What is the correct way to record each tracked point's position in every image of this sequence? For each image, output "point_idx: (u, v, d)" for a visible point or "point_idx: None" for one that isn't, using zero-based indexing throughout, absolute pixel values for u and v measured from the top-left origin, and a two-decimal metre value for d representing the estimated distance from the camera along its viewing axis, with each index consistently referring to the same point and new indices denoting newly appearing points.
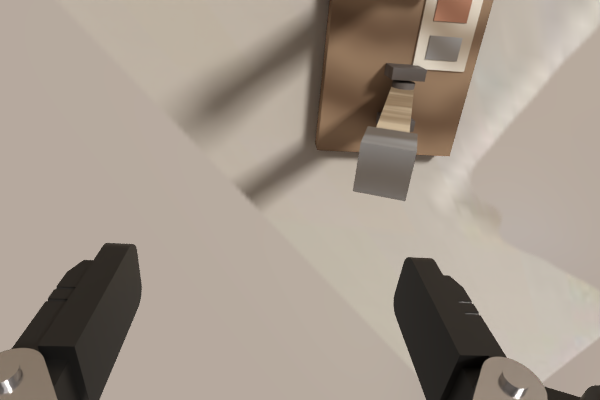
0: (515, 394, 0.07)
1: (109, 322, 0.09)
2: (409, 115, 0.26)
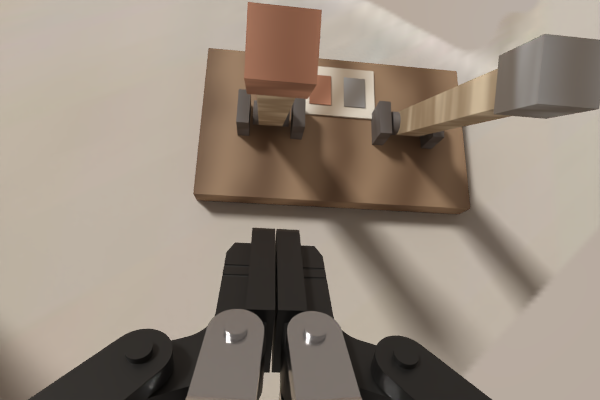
0: (310, 341, 0.08)
1: None
2: (451, 90, 0.24)
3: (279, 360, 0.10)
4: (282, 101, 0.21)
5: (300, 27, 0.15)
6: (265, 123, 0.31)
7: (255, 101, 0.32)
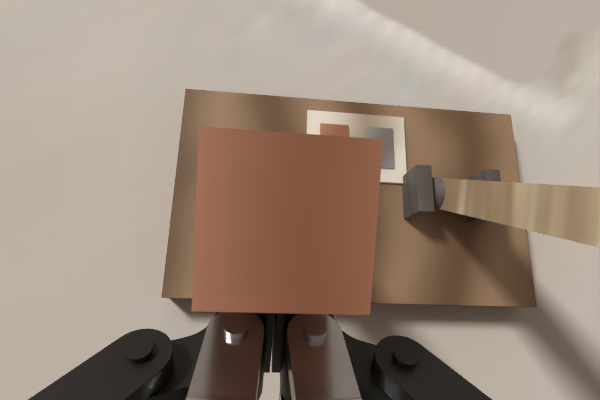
0: (310, 341, 0.08)
1: None
2: (549, 187, 0.15)
3: (279, 360, 0.10)
4: None
5: (331, 183, 0.06)
6: None
7: None
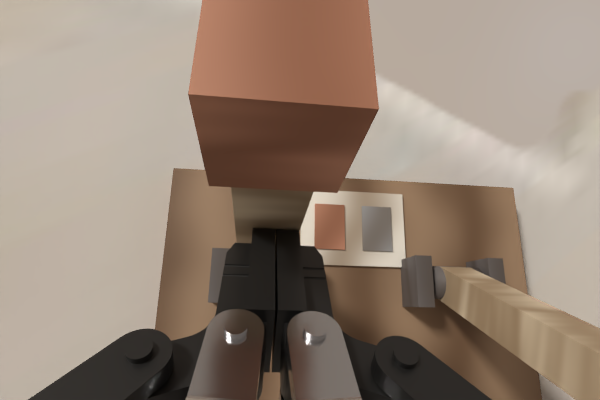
0: (310, 341, 0.08)
1: None
2: (561, 336, 0.14)
3: (279, 360, 0.10)
4: (280, 226, 0.12)
5: (325, 6, 0.07)
6: None
7: None
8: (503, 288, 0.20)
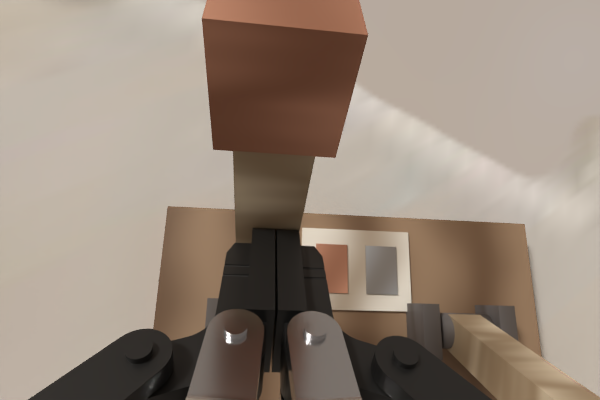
0: (310, 341, 0.08)
1: None
2: None
3: (279, 360, 0.10)
4: (280, 224, 0.12)
5: None
6: None
7: None
8: (517, 349, 0.18)
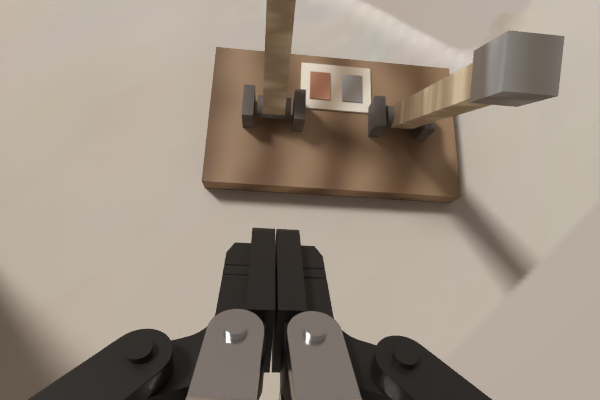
0: (310, 341, 0.08)
1: None
2: (437, 83, 0.26)
3: (279, 360, 0.10)
4: None
5: None
6: (269, 102, 0.33)
7: None
8: None
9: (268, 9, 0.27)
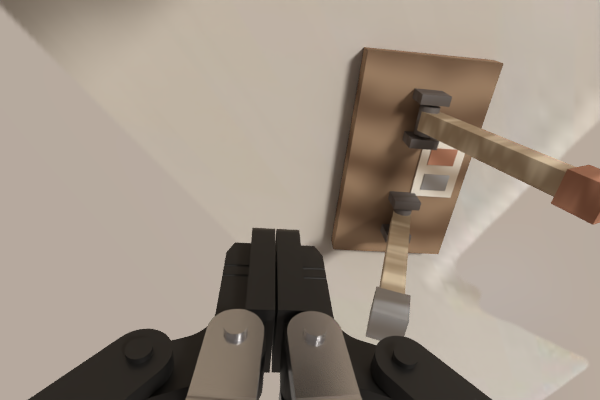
0: (310, 341, 0.08)
1: None
2: (405, 260, 0.36)
3: (279, 360, 0.10)
4: (518, 171, 0.30)
5: None
6: (429, 120, 0.38)
7: (439, 108, 0.39)
8: None
9: (498, 145, 0.32)
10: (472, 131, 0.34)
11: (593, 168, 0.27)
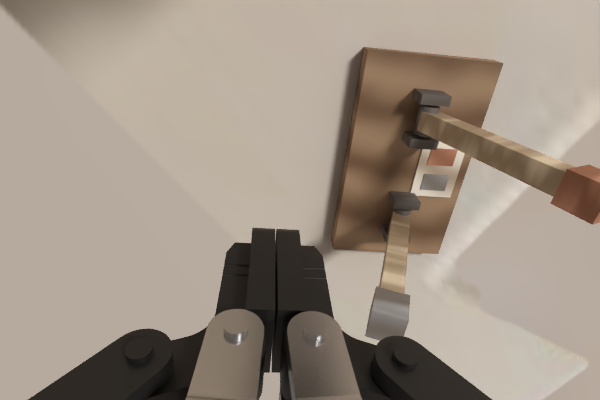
0: (310, 341, 0.08)
1: None
2: (405, 260, 0.36)
3: (279, 360, 0.10)
4: (518, 171, 0.30)
5: None
6: (428, 120, 0.38)
7: (439, 108, 0.39)
8: None
9: (498, 145, 0.32)
10: (472, 131, 0.34)
11: (592, 168, 0.27)
